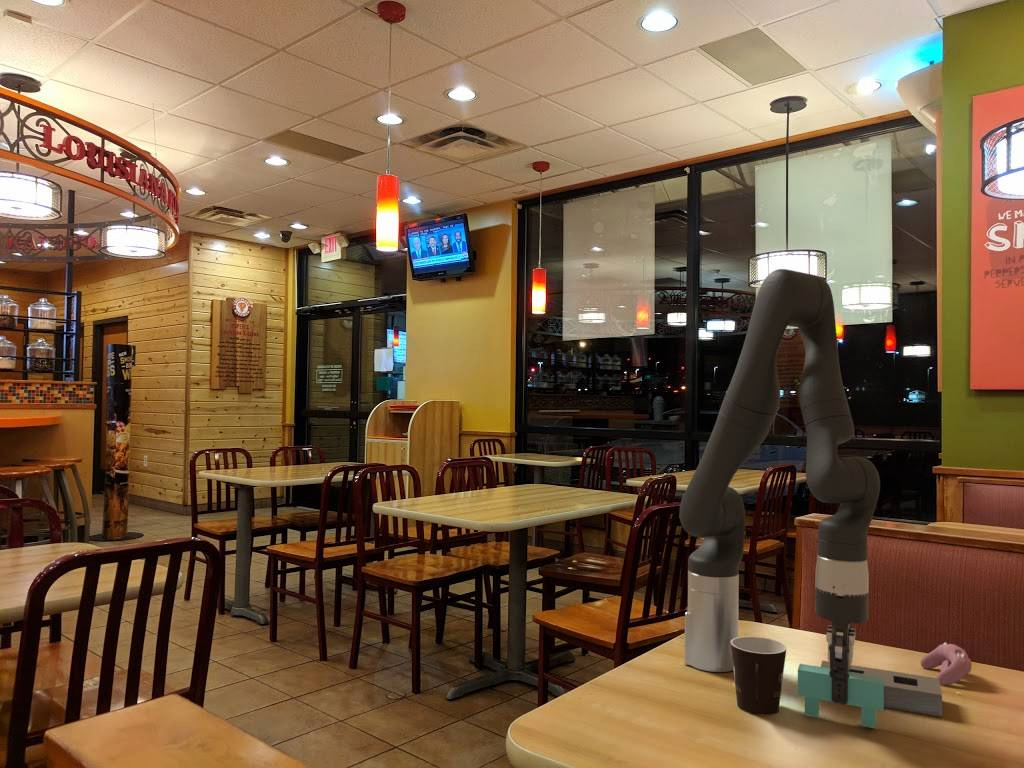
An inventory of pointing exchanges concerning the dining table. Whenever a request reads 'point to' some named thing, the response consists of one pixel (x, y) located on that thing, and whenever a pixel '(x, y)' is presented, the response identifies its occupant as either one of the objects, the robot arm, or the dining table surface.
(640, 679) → the dining table surface
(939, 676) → the video game controller
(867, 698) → the two prong clip
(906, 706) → the slotted rail
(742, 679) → the coffee mug
